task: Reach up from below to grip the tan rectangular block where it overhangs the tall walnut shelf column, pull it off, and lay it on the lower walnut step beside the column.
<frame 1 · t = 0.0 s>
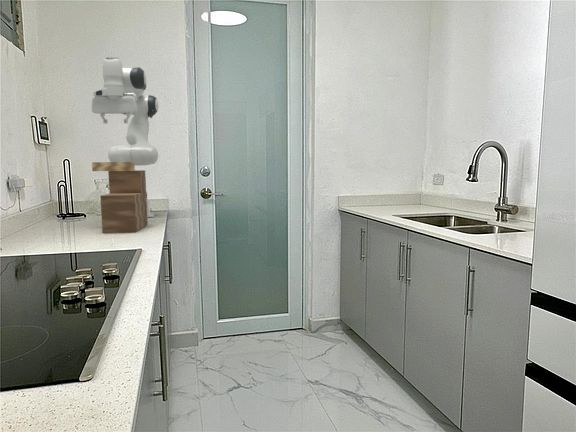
hand: (115, 123, 222), 48 cm above the countertop, tool pointing down, fingers open, 8 cm apart
step shelf: (126, 228, 214), on the countertop
tan rectangular block: (113, 170, 217), point 26 cm above the countertop, touching step shelf
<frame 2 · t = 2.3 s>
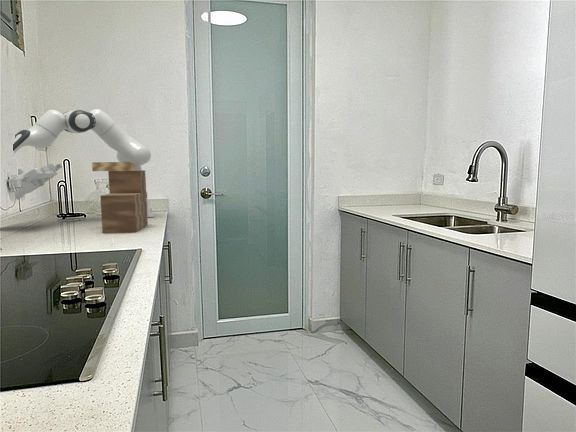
hand: (56, 165, 215), 29 cm above the countertop, tool pointing upward, fingers open, 8 cm apart
nothing on the countertop moved.
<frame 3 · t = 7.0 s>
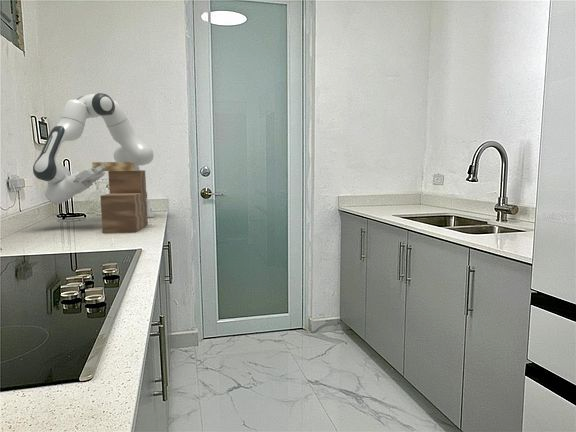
hand: (106, 165, 216), 28 cm above the countertop, tool pointing upward, fingers closed on tan rectangular block, 3 cm apart
tan rectangular block: (113, 170, 217), point 26 cm above the countertop, touching gripper, step shelf
everything else where it was.
when the fingers open (19 cm above the countertop, at t = 19.7 s): tan rectangular block stays where it is, resting on step shelf.
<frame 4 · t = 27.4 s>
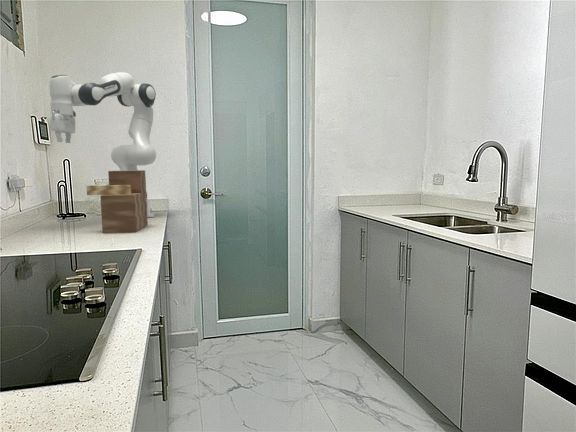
hand: (64, 142, 216), 39 cm above the countertop, tool pointing down, fingers open, 8 cm apart
tan rectangular block: (109, 194, 206), point 16 cm above the countertop, touching step shelf
everything else where it was.
at the end: tan rectangular block inside the target area on the step shelf (2.1 cm from its centre), point 16.0 cm above the step shelf's base; the gripper is holding nothing; tan rectangular block tilted 0° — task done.
